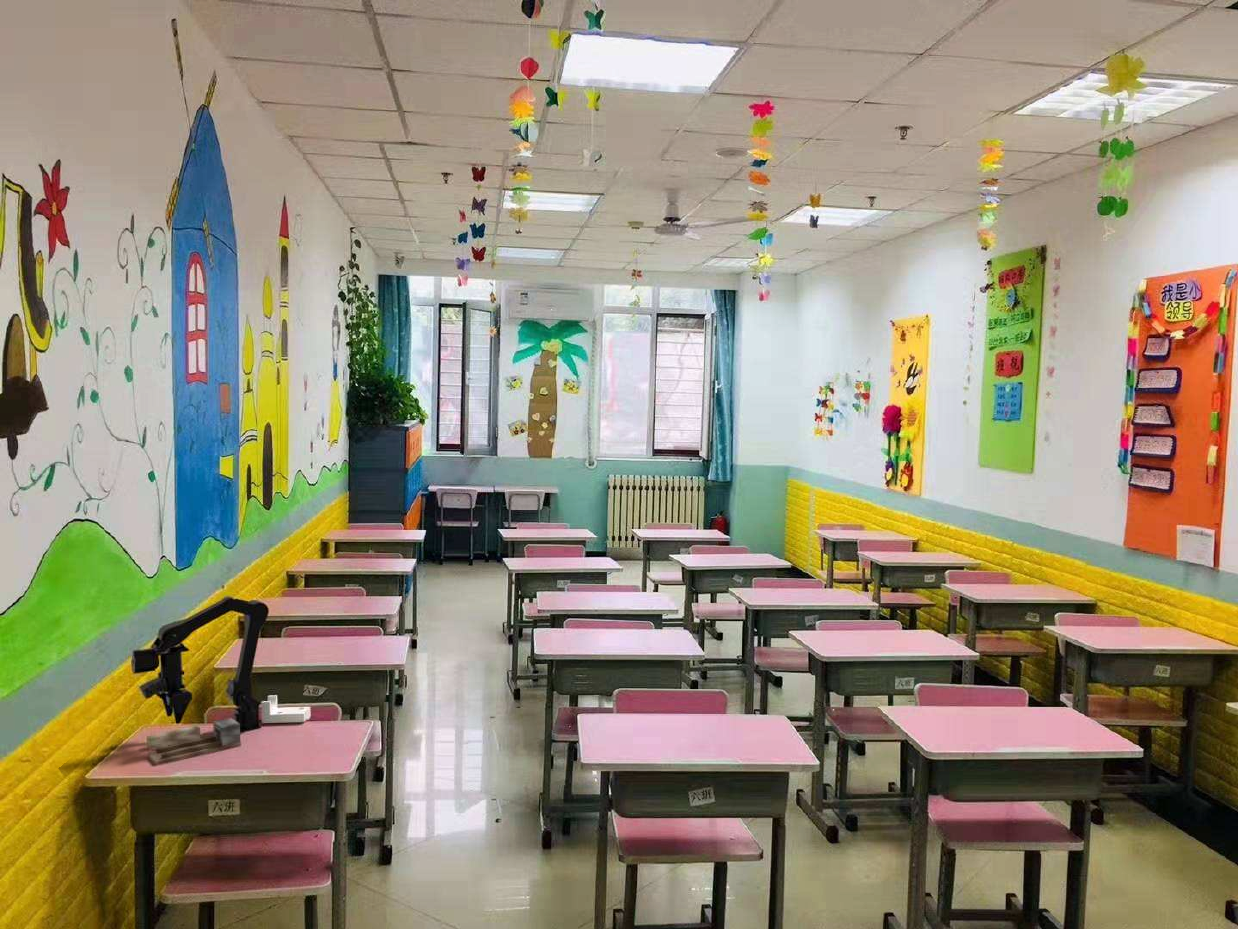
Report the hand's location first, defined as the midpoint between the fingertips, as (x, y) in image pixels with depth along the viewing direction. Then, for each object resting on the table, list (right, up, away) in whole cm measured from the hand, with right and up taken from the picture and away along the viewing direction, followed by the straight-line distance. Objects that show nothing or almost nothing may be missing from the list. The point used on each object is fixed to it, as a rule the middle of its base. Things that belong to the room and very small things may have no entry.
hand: (173, 720), depth 277 cm
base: (+10, -7, -7) cm, 14 cm away
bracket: (+27, -6, +19) cm, 33 cm away
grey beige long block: (0, -7, 0) cm, 7 cm away
